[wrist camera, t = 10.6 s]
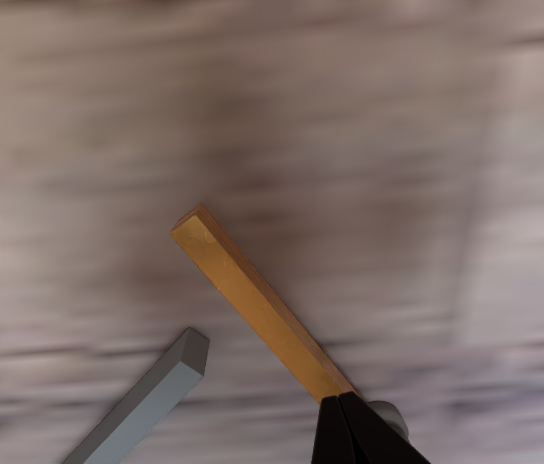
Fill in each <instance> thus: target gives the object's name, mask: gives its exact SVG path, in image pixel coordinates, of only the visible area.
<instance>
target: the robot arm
mask: <svg viewBox="0 0 544 464" xmlns="http://www.w3.org/2000/svg"><path fill="white" fill-rule="evenodd" d="M311 464H431V463H430V462H429V461H428V460H427V459H426V458H425V457H424V456H422V455H421V454H420V453H419V452H418V451H417V450H416V449H415V448H414V447H413V446H412V445H411V444H410V443H409V442H408V441H406V440H405V439H404V438H403V437H402V436H401V435H400V434H399V433H398V432H397V431H396V430H395V429H394V428H393V427H391V426H390V425H389V424H388V423H387V422H386V421H385V420H384V419H383V418H382V417H381V416H380V415H379V414H378V413H377V412H375V411H374V410H373V409H372V408H371V407H370V406H369V405H368V404H367V403H366V402H365V401H364V400H363V399H362V398H360V397H359V396H358V395H357V394H356V393H355V392H354V391H348V392H344V393H340V394H339V395H338V396H337V395H332V396H328V397H324V398H322V400H321V404H320V410H319V417H318V423H317V429H316V435H315V442H314V448H313V454H312V461H311Z"/></svg>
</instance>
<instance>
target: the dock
mask: <svg viewBox="0 0 544 464" xmlns="http://www.w3.org/2000/svg"><path fill="white" fill-rule="evenodd" d="M209 342H210V341H209V340H207V339H206V338H204V337H203V336H202V335H200V334H199V333H197V332H196V331H194V330H193V329H191V328H190V327H189V328H188V329H187V330H186V331H185V333H184V334H183V335H182V336H181V337H180V338H179V339H178V340H177V341H176V342H175V343H174V344H173V345H172V347H171V348H170V349H169V350H168V351H167V352H166V353H165V354H164V355H163V356H162V357H161V358H160V359H159V360H158V362H157V363H156V364H155V365H154V366H153V367H152V368H151V369H150V370H149V371H148V372H147V373H146V374H145V376H144V377H143V378H142V379H141V380H140V381H139V382H138V383H137V384H136V385H135V386H134V387H133V388H132V389H131V391H130V392H129V393H128V394H127V395H126V396H125V397H124V398H123V399H122V400H121V401H120V402H119V403H118V405H117V406H116V407H115V408H114V409H113V410H112V411H111V412H110V413H109V414H108V415H107V416H106V417H105V418H104V420H103V421H102V422H101V423H100V424H99V425H98V426H97V427H96V428H95V429H94V430H93V431H92V432H91V433H90V435H89V436H88V437H87V438H86V439H85V440H84V441H83V442H82V443H81V444H80V445H79V446H78V447H77V449H76V450H75V451H74V452H73V453H72V454H71V455H70V456H69V457H68V458H67V459H66V460H65V461H64V462H63V464H118V463H119V462H120V461H121V460H122V459H123V458H124V457H125V456H126V455H127V454H128V453H129V452H130V451H131V450H132V449H133V448H134V447H135V446H136V445H137V444H138V443H139V442H140V441H141V440H142V439H143V438H144V437H145V436H146V435H147V434H148V433H149V432H150V431H151V430H152V429H153V428H154V427H155V426H156V425H157V424H158V423H159V422H160V421H161V420H162V419H163V418H164V417H165V415H166V414H167V413H168V412H169V411H170V410H171V409H172V408H173V407H174V406H175V405H176V404H177V403H178V402H179V401H180V400H181V399H182V398H183V397H184V396H185V395H186V394H187V393H188V392H189V391H190V390H191V389H192V388H193V387H194V386H195V385H196V384H197V383H198V382H199V381H200V380H201V379H202V378H203V377H204V372H205V366H206V360H207V354H208V348H209ZM367 404H368V405H369V406H370V407H371V408H372V409H373V410H374V411H375V412H377V413H378V414H379V415H380V416H381V417H382V418H383V419H384V420H385V421H386V422H387V423H388V424H394V425H397V426H399V427H401V428H402V429H403V430H404V432H405V434H406V436H407V438H408V428H407V426H406V424H405V422H404V420H403V418H402V416H401V415H400V413H399V411H398V409H397V408H396V407H395V406H394V405H392V404H390V403H387V402H383V401H375V402H370V403H367Z"/></svg>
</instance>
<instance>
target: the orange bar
mask: <svg viewBox="0 0 544 464" xmlns="http://www.w3.org/2000/svg"><path fill="white" fill-rule="evenodd" d="M170 235H171V237H172V238H173V239H174V240H175V241H176V242H177V243H178V244H179V246H180V247H181V248H182V249H183V250H184V251H185V252H186V254H187V255H188V256H189V257H190V258H191V259H192V260H193V261H194V263H195V264H196V265H197V266H198V267H199V268H200V269H201V271H202V272H203V273H204V274H205V275H206V276H207V277H208V278H209V280H210V281H211V282H212V283H213V284H214V285H215V286H216V288H217V289H218V290H219V291H220V292H221V293H222V294H223V295H224V297H225V298H226V299H227V300H228V301H229V302H230V303H231V305H232V306H233V307H234V308H235V309H236V310H237V311H238V312H239V314H240V315H241V316H242V317H243V318H244V319H245V320H246V322H247V323H248V324H249V325H250V326H251V327H252V328H253V329H254V331H255V332H256V333H257V334H258V335H259V336H260V337H261V339H262V340H263V341H264V342H265V343H266V344H267V345H268V346H269V348H270V349H271V350H272V351H273V352H274V353H275V354H276V356H277V357H278V358H279V359H280V360H281V361H282V362H283V363H284V365H285V366H286V367H287V368H288V369H289V370H290V371H291V373H292V374H293V375H294V376H295V377H296V378H297V379H298V380H299V382H300V383H301V384H302V385H303V386H304V387H305V388H306V390H307V391H308V392H309V393H310V394H311V395H312V396H313V397H314V399H315V400H316V401H317V402H318V403H319V404H321V400H322V398H324V397H328V396H332V395H337V396H338V395H339V394H340V393H344V392H348V391H354V392H355V393H356V394H357V392H356V391H355V390H354V389H353V387H352V386H351V385H350V384H349V383H348V381H347V380H346V379H345V378H344V376H343V375H342V374H341V373H340V372H339V370H338V369H337V368H336V367H335V365H334V364H333V363H332V362H331V361H330V359H329V358H328V357H327V356H326V354H325V353H324V352H323V351H322V350H321V348H320V347H319V346H318V345H317V343H316V342H315V341H314V340H313V339H312V337H311V336H310V335H309V334H308V332H307V331H306V330H305V329H304V328H303V326H302V325H301V324H300V323H299V321H298V320H297V319H296V318H295V317H294V315H293V314H292V313H291V312H290V310H289V309H288V308H287V307H286V306H285V304H284V303H283V302H282V301H281V300H280V298H279V297H278V296H277V295H276V293H275V292H274V291H273V290H272V289H271V287H270V286H269V285H268V284H267V282H266V281H265V280H264V279H263V278H262V276H261V275H260V274H259V273H258V271H257V270H256V269H255V268H254V267H253V265H252V264H251V263H250V262H249V260H248V259H247V258H246V257H245V256H244V254H243V253H242V252H241V251H240V249H239V248H238V247H237V246H236V245H235V243H234V242H233V241H232V240H231V238H230V237H229V236H228V235H227V234H226V232H225V231H224V230H223V229H222V227H221V226H220V225H219V224H218V223H217V221H216V220H215V219H214V218H213V216H212V215H211V214H210V213H209V212H208V210H207V209H206V208H205V207H204V205H203V204H202V203H201V204H200V205H199V206H197V207H196V208H195V209H193V210H192V211H191V212H189V213H188V214H187V215H185V216H184V217H183V218H181V219H180V220H179V221H178V222H177V224H176V225H175V227H174V228H173V230H172V231H171V232H170ZM357 395H358V394H357ZM358 396H359V395H358ZM359 397H360V396H359ZM360 398H361V397H360ZM389 425H390V426H391V427H393V428H394V429H395V430H396V431H397V432H398V433H399V434H400V435H401V436H402V437H403V438H404V439H405V440H406V441H408V442H409V440H408V438H407V436H406V434H405V432H404V430H403V429H402V428H401V427H399V426H397V425H394V424H389ZM409 443H410V442H409ZM410 444H411V443H410Z"/></svg>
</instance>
